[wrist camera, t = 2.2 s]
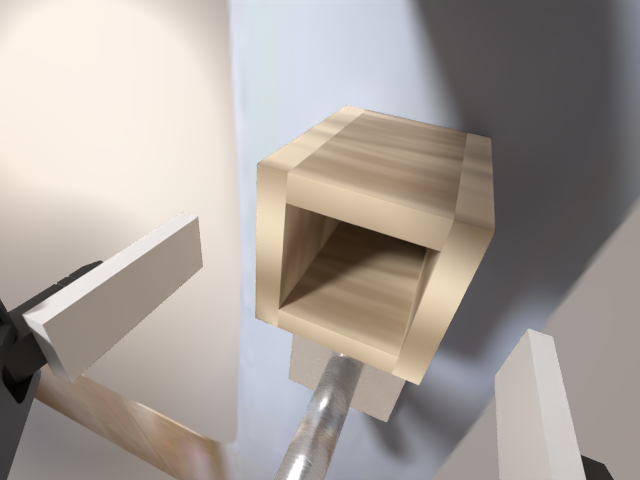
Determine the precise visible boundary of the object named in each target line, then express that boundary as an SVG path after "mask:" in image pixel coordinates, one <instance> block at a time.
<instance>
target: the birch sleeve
mask: <svg viewBox="0 0 640 480" xmlns="http://www.w3.org/2000/svg"><path fill="white" fill-rule="evenodd" d="M494 234H495V213H494V190H493V166H492V142H491V138H489V137H485V136H480V135H476V134H471V133H467V132H462V131H458V130H453V129H449V128H445V127H440V126H436V125H431V124H427V123H422V122H418V121H413V120H409V119H405V118H400V117H396V116H391V115H387V114H382V113H378V112H374V111H369V110H365V109H360V108H356V107H351V106H347V105H346V106H345V107H343V108H342V109H340V110H339V111H337V112H336V113H334V114H333V115H331V116H329V117H328V118H326V119H325V120H323V121H322V122H320V123H319V124H317V125H316V126H314V127H313V128H311V129H310V130H308V131H306V132H305V133H303V134H302V135H300V136H299V137H297V138H296V139H294V140H293V141H291V142H290V143H288V144H286V145H285V146H283V147H282V148H280V149H279V150H277V151H276V152H274V153H273V154H271V155H270V156H268V157H267V158H265V159H263V160H262V161H260V162H259V163H257V211H256V312H255V318H257V319H259V320H262V321H264V322H266V323H269V324H271V325H274V326H276V327H279V328H281V329H283V330H286V331H288V332H291V333H293V334H296V335H298V336H300V337H303V338H305V339H308V340H310V341H313V342H315V343H317V344H320V345H322V346H325V347H327V348H330V349H332V350H334V351H337V352H339V353H342V354H344V355H347V356H349V357H351V358H354V359H356V360H359V361H361V362H364V363H366V364H368V365H371V366H373V367H376V368H378V369H381V370H383V371H385V372H388V373H390V374H393V375H395V376H398V377H400V378H402V379H405V380H407V381H410V382H412V383H415V384H417V385H419V384H420V382H421V380H422V378H423V376H424V374H425V372H426V370H427V368H428V366H429V364H430V362H431V360H432V358H433V356H434V354H435V352H436V350H437V348H438V346H439V344H440V342H441V340H442V338H443V336H444V334H445V332H446V330H447V328H448V326H449V324H450V322H451V320H452V318H453V316H454V314H455V312H456V310H457V308H458V306H459V304H460V302H461V300H462V298H463V296H464V294H465V292H466V290H467V288H468V286H469V284H470V282H471V280H472V278H473V276H474V274H475V272H476V270H477V268H478V266H479V264H480V262H481V260H482V258H483V256H484V254H485V252H486V250H487V248H488V246H489V244H490V242H491V240H492V238H493V236H494Z"/></svg>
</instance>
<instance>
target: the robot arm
mask: <svg viewBox="0 0 640 480" xmlns="http://www.w3.org/2000/svg"><path fill="white" fill-rule="evenodd" d="M202 267H203V265H202V254H201V243H200V232H199V222H198V216H195V215H192V214H189V213H186V212H181V213H180V214H179V215H177V216H175V217H174V218H172V219H171V220H169V221H167V222H166V223H164V224H163V225H161V226H160V227H158V228H157V229H155V230H153V231H152V232H150V233H149V234H147V235H146V236H144V237H143V238H141V239H139V240H138V241H136V242H135V243H133V244H132V245H130V246H129V247H127V248H125V249H124V250H122V251H121V252H119V253H118V254H116V255H114V256H113V257H111V258H110V259H108V260H107V261H105V262H102V261H97V262H94V263H92V264H89V265H86V266H83V267H81V268H80V269H78V270H77V271H75V272H74V273H72V274H70V275H69V277H65V278H64V279H62V280H61V281H59V282H58V283H57V284H56V285H55V284H54V285H52V286H51V287H49V288H47V289H46V290H44V291H43V292H41V293H39V294H38V295H36V296H34V297H33V298H31V299H30V300H28V301H26V302H25V303H23V304H22V305H20V306H18V307H17V308H15V309H13V310H12V311H10V312H7V310H6V308H5V307H4V305H3V303H2V301H1V300H0V480H7V477H8V474H9V471H10V468H11V465H12V462H13V459H14V456H15V453H16V450H17V447H18V444H19V441H20V438H21V435H22V432H23V429H24V425H25V423H26V420H27V417H28V413H29V411H30V407H31V405H32V402H33V399H34V396H35V392H36V389H37V386H38V383H39V380H40V377H41V370H40V368H41V367H42V366H44V365H45V364H46V363H48V365H49V366H50V368H51V370H52V372H53V374H55V375H57V376H59V377H61V378H62V379H64V380H66V381H68V382H70V383H72V382H73V381H74V380H76V379H77V378H78V377H79V376H80V375H81V374H82V373H83V372H85V371H86V370H87V369H88V368H89V367H90V366H91V365H92V364H94V363H95V362H96V361H97V360H98V359H99V358H100V357H101V356H102V355H104V354H105V353H106V352H107V351H108V350H109V349H110V348H112V347H113V346H114V345H115V344H116V343H117V342H118V341H119V340H121V339H122V338H123V337H124V336H125V335H126V334H127V333H129V332H130V331H131V330H132V329H133V328H134V327H135V326H136V325H138V323H140V322H141V321H142V320H143V319H144V318H145V317H147V315H149V314H150V313H151V312H152V311H153V310H154V309H155V308H156V307H158V306H159V305H160V304H161V303H162V302H163V301H165V300H166V299H167V298H168V297H169V296H170V295H171V294H172V293H174V292H175V291H176V290H177V289H178V288H179V287H180V286H182V285H183V284H184V283H185V282H186V281H187V280H188V279H189V278H191V277H192V276H193V275H194V274H195V273H196V272H197V271H198V270H200V269H201V268H202ZM494 378H495V401H496V424H497V447H498V467H499V468H498V470H499V480H613V478H612V476H611V475H610V473H609V472H608V470H607V468H606V467H605V465H604V464H602V463H600V462H597V461H595V460H592V459H590V458H587V457H585V456H582V455H580V451H579V447H578V443H577V439H576V434H575V430H574V426H573V421H572V417H571V413H570V408H569V404H568V400H567V396H566V391H565V387H564V383H563V379H562V375H561V370H560V366H559V361H558V357H557V353H556V349H555V345H554V341H553V337H552V336H549V335H546V334H543V333H540V332H537V331H534V330H531V329H527V331H526V332H525V333H524V335H523V336H522V338H521V339H520V341H519V342H518V344H517V345H516V347H515V348H514V349H513V351H512V352H511V354H510V355H509V357H508V358H507V360H506V361H505V362H504V364H503V365H502V367H501V368H500V370H499V371H498V373H497V374H496V375H495V377H494Z"/></svg>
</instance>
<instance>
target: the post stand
mask: <svg viewBox="0 0 640 480" xmlns="http://www.w3.org/2000/svg"><path fill="white" fill-rule="evenodd" d="M289 379H290V380H292V381H295V382H297V383H299V384H301V385H303V386H306V387H308V388H310V389H312V390H315V391H314V393H313V396H312V398H311V400H310V402H309V404H308V407H307V409H306V411H305V413H304V415H303V418H302V420H301V422H300V424H299V426H298V429H297V431H296V433H295V435H294V437H293V440H292V442H291V444H290V446H289V448H288V451H287V453H286V455H285V457H284V459H283V461H282V464H281V466H280V468H279V470H278V472H277V475H276V477H275V479H274V480H324V479H325V476H326V473H327V470H328V467H329V464H330V462H331V459H332V456H333V453H334V450H335V447H336V444H337V441H338V439H339V436H340V433H341V430H342V427H343V424H344V421H345V419H346V416H347V413H348V410H349V407H353V408H355V409H357V410H359V411H361V412H364V413H366V414H368V415H370V416H373V417H375V418H377V419H379V420H382V421H384V422H386V423H387V421H388V419H389V416H390V414H391V412H392V410H393V408H394V405H395V403H396V401H397V399H398V397H399V394H400V392H401V390H402V388H403V386H404V383H405V381H406V380H405V379H402V378H400V377H398V376H395V375H393V374H390V373H388V372H385V371H383V370H381V369H378V368H376V367H373V366H371V365H368V364H366V363H364V362H361V361H359V360H356V359H354V358H351V357H349V356H347V355H344V354H342V353H339V352H337V351H334V350H332V349H330V348H327V347H325V346H322V345H320V344H317V343H315V342H313V341H310V340H308V339H305V338H303V337H300V336H298V335H296V334H293V342H292V351H291V360H290V370H289Z"/></svg>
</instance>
